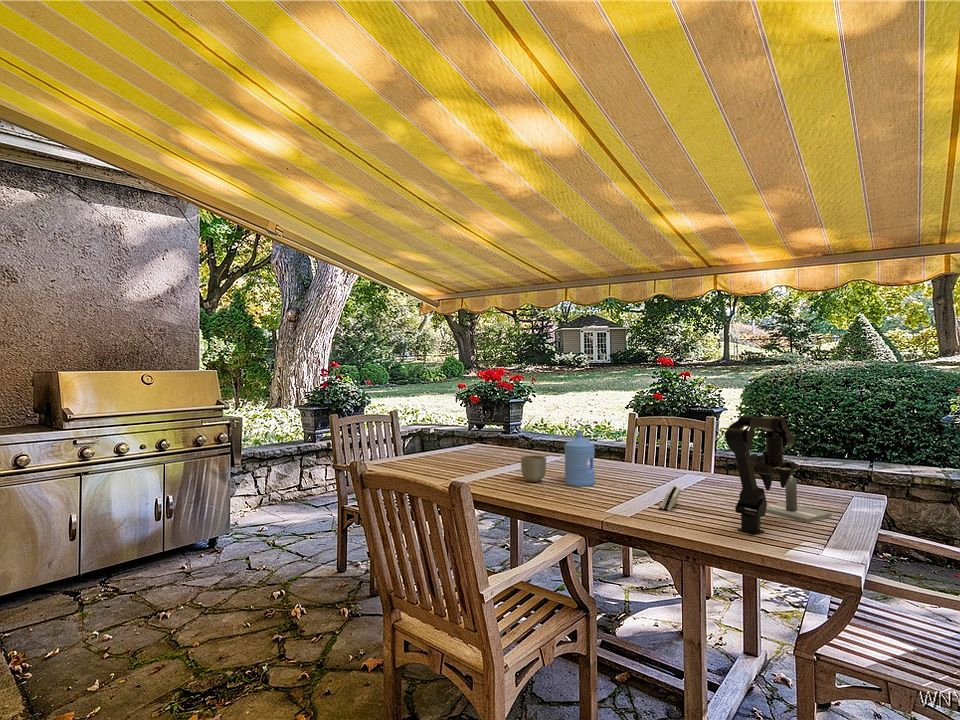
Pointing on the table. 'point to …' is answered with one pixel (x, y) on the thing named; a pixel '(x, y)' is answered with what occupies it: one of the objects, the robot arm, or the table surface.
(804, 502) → the table surface
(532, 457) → the planter
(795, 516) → the board
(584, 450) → the water jug
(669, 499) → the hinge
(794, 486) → the bottle
